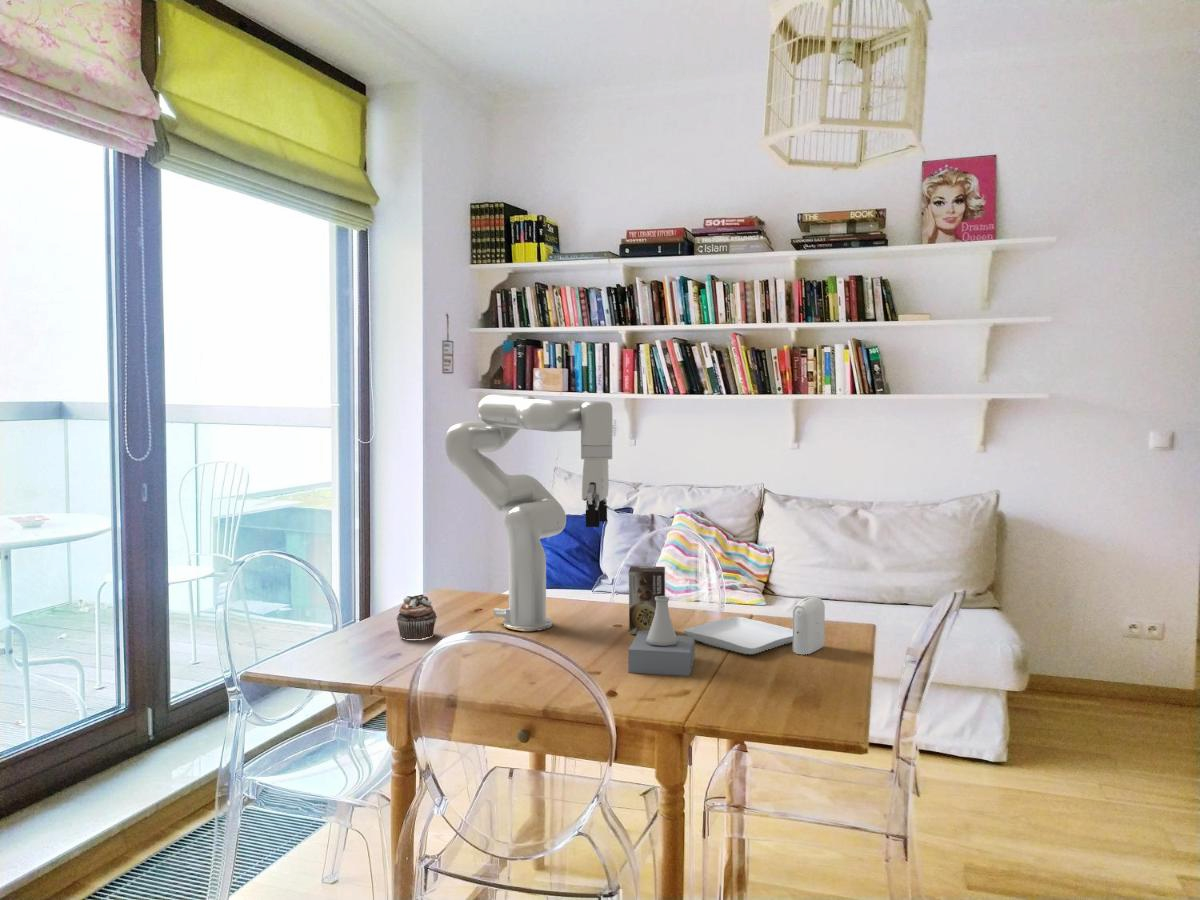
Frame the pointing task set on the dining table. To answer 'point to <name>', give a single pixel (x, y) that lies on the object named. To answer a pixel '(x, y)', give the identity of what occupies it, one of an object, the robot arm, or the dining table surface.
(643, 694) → the dining table surface
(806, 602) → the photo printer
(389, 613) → the dining table surface
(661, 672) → the slate block
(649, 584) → the coffee box
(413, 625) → the cupcake
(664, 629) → the flask
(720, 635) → the salad plate
